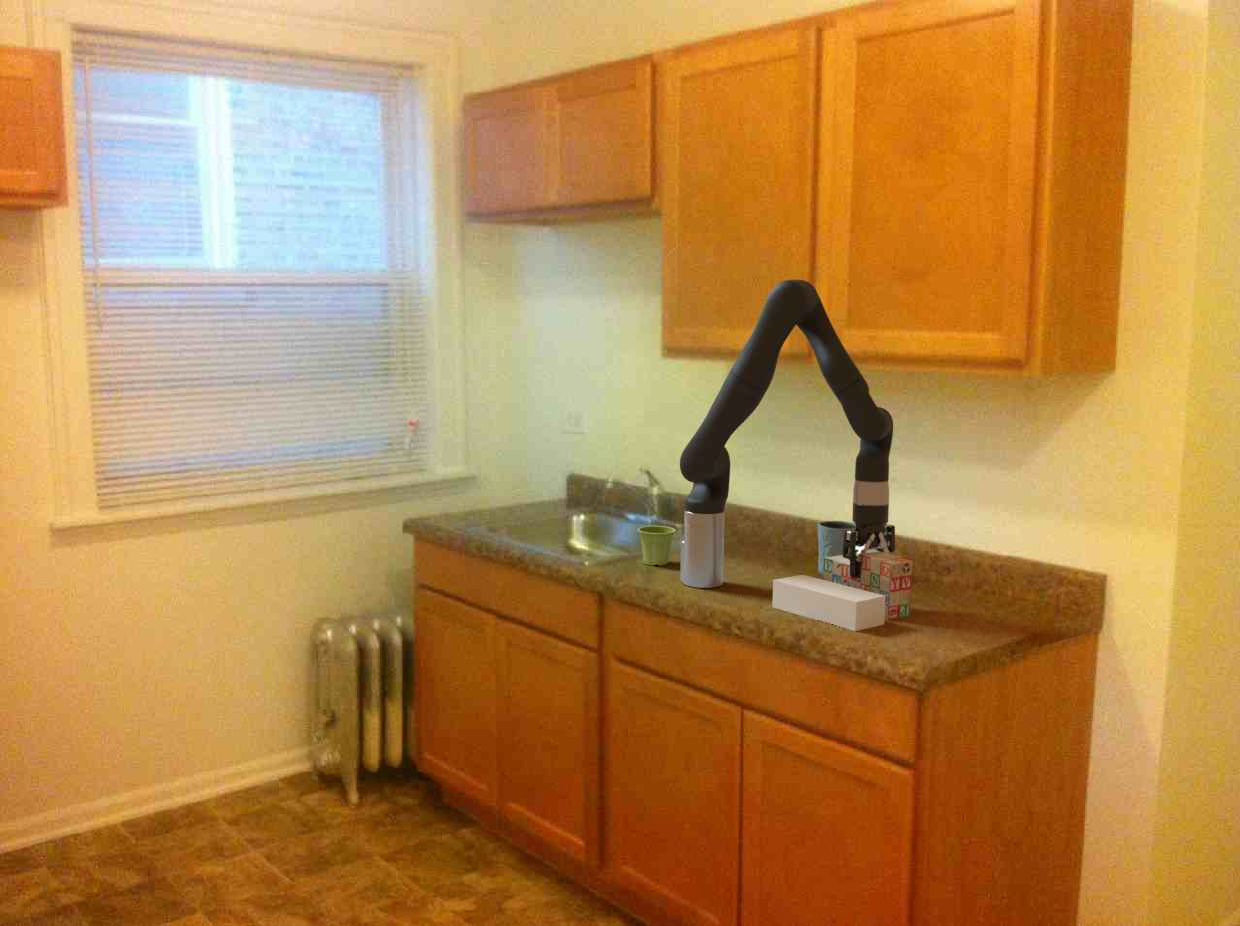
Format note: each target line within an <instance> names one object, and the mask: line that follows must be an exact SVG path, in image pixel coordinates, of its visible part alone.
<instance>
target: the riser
mask: <svg viewBox="0 0 1240 926" xmlns="http://www.w3.org/2000/svg"><path fill="white" fill-rule="evenodd" d="M885 598H886V596H884V595H880V594H877V593H873V592H869V591H865V590H861V589H857V588H853V587H849V586H845V585H841V584H837V583H833V582H830V581H826V580H823V579H822V578H818V577H813V576H810V575H806V574H799V575H793V576H788V577H782V578H776V579H773V580H772V608H773V609H777V610H781V611H785V612H787V613H790V614H795V615H798V616H801V617H804V618H808V619H812V620H814V621H818V620H820V621H819V622H821V621H823V622H822V623H825V622H827V623H826V624H828V623H830V624H829V625H831V624H834V625H833V626H835V625H837V626H836V627H838V626H840V628H842V627H843V628H842V629H845V628H846V630H848V629H849V631H851V632H859V631H863V630H865V629H872V628H875V627H879V626H884V625H885V620H886V619H885Z"/></svg>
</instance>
